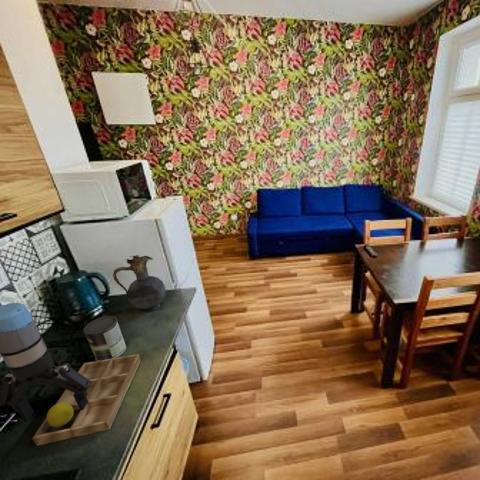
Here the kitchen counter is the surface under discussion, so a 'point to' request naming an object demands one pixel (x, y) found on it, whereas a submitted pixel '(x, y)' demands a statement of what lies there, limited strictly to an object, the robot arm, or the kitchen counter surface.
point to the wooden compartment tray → (94, 399)
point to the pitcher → (142, 285)
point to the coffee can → (105, 338)
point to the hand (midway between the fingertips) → (57, 411)
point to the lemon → (60, 414)
